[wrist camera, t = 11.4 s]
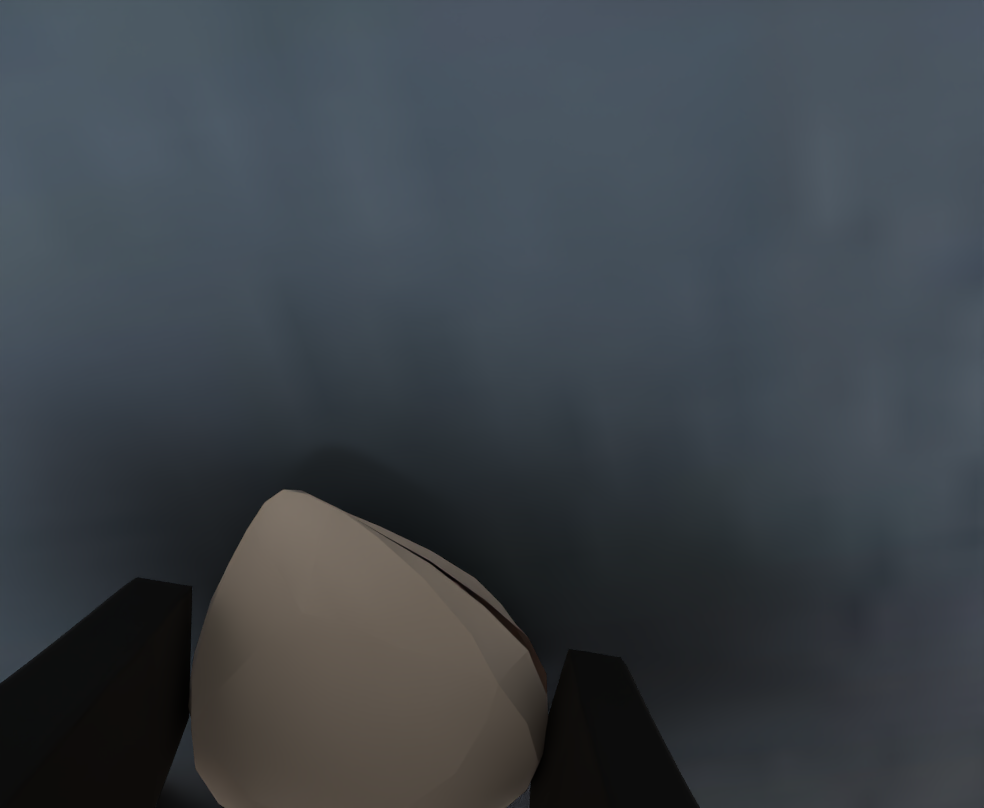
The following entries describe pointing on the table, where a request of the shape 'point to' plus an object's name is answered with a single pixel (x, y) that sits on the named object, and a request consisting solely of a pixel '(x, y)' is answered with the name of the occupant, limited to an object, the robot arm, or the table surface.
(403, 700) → the beige pebble
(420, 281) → the table surface
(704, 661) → the table surface
